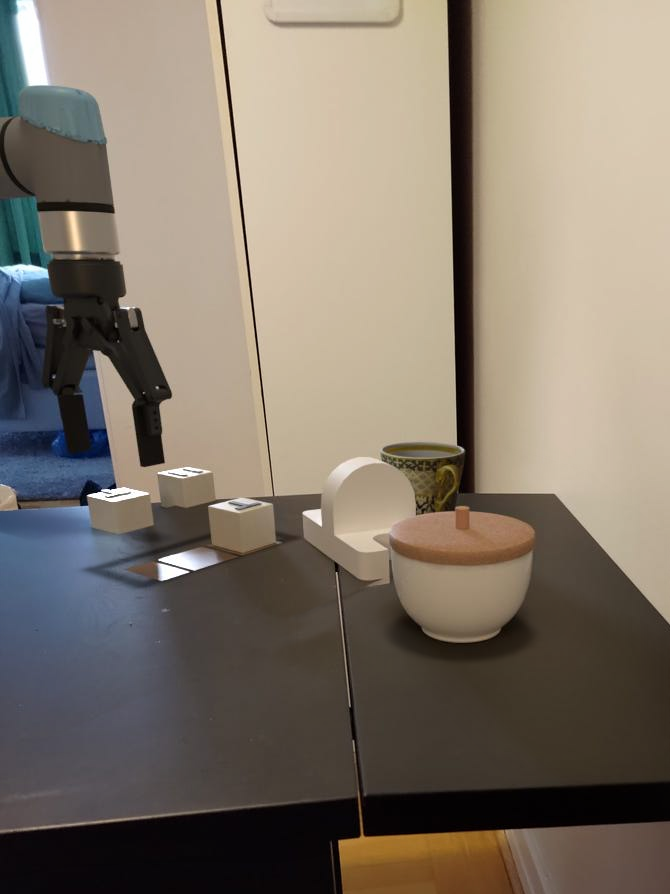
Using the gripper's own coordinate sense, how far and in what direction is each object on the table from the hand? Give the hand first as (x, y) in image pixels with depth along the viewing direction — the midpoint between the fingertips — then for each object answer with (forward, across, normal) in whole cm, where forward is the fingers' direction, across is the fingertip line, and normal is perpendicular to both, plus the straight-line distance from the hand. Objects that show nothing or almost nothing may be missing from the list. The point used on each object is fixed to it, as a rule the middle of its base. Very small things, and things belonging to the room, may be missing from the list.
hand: (115, 458), depth 102 cm
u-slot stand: (+9, -30, -10) cm, 33 cm away
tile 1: (+9, 0, 0) cm, 9 cm away
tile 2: (+8, -17, -3) cm, 19 cm away
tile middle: (+9, +4, -12) cm, 16 cm away
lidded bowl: (+10, -50, +1) cm, 51 cm away
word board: (+9, -17, +3) cm, 19 cm away
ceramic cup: (+9, -30, -21) cm, 37 cm away
